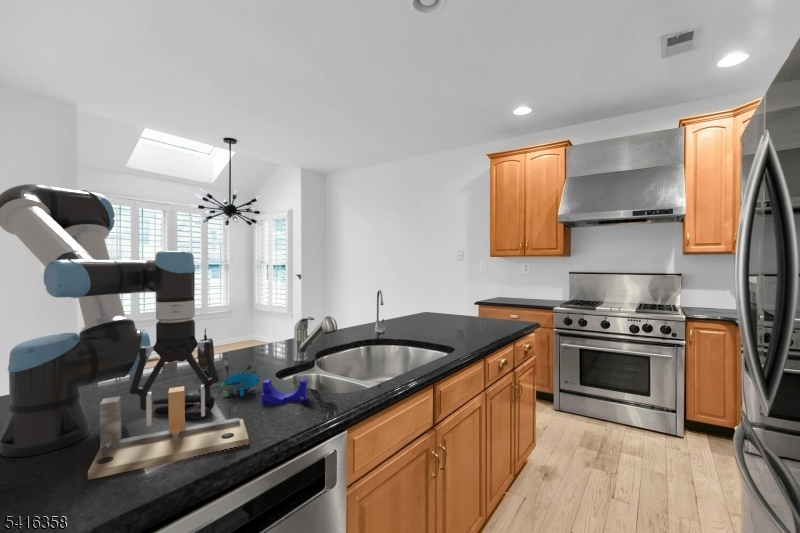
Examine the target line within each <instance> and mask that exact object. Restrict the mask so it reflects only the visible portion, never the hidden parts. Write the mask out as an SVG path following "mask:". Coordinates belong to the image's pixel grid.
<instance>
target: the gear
mask: <svg viewBox="0 0 800 533" xmlns="http://www.w3.org/2000/svg"><path fill="white" fill-rule="evenodd" d="M259 383H260V376H259V375H257V373H256V372H252V373H251V375H250V371H244V374H242V372H241V371H238V372H236V373H235V374H234V373H230V374H229V375H228V377H225V379H224V381H221V382H220V388H223V391H224V398H228V394H229V392H228V391H231V390H235V391H239V397H240V398H241V397H244V396H245V395H244V394H245V393H244V392H245V390H248V389H249V387H250V388H255V386H256V385H258V384H259Z"/></svg>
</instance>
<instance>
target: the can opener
mask: <svg viewBox="0 0 800 533" xmlns="http://www.w3.org/2000/svg"><path fill="white" fill-rule="evenodd" d="M152 405H155V406H156V405H161V406H157V407H155V409H154V413H155V414H156V413H157V414H169V404H168V396H165V397H158V398H155V399H154V400H152ZM214 406H215V397H214V396H213V395H211V394H210V399H209V400H205V416H202V417H201V394H194V393H189V394H185V420H200V419H202V418H205V417H206V416H207V415H209V414H210V413H211V412H212V409H213V408H214Z"/></svg>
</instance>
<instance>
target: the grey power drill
mask: <svg viewBox="0 0 800 533" xmlns="http://www.w3.org/2000/svg"><path fill="white" fill-rule="evenodd" d="M206 332H207V328H206V327H204V335H203V339H200V340H199V341H206V340H209V341H210V353H211V356H212V359H213V362H214V363H215V350H214V347H215V346H214V341H213V338H212V337H211V338H208V336H207V333H206ZM196 348H197V351H196V352H197V356H196V359H197V362H198V364H199V365H200V367H201V368H202V370H203V371H204V370H206V375H210V370H209V367H208V364H207V361H206V358H205V355H204V351H201V350H200V347H196Z"/></svg>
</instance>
